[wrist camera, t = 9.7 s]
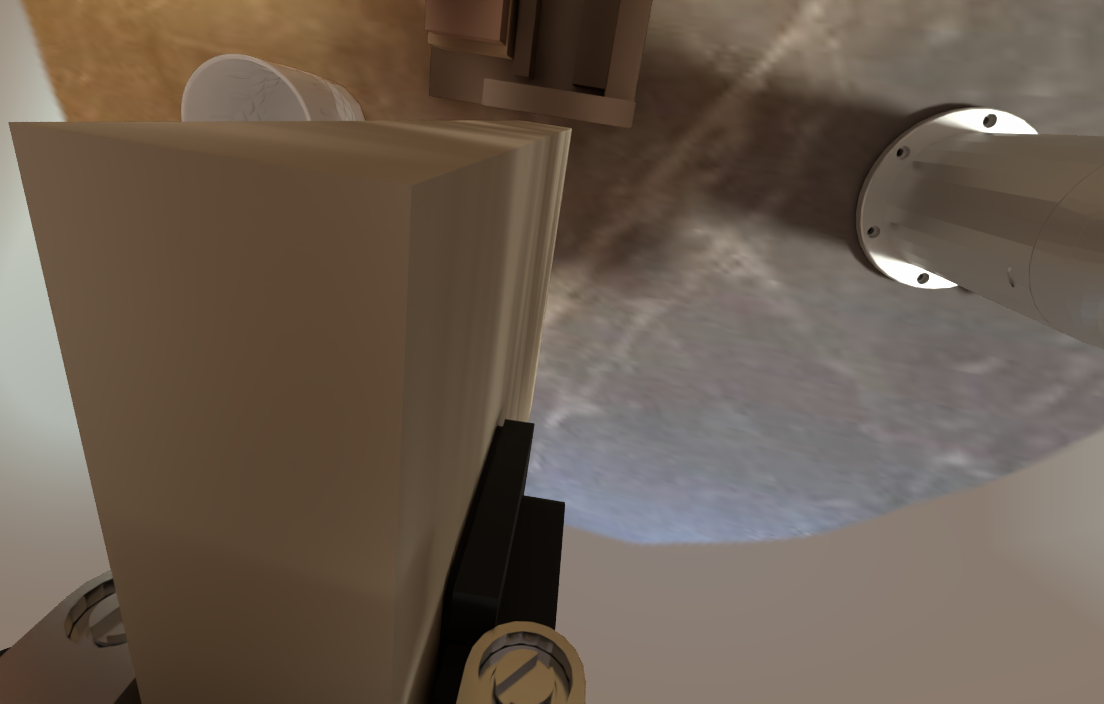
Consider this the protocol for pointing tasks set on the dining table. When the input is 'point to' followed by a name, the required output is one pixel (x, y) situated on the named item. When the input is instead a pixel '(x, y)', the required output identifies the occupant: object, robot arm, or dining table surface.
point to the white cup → (263, 93)
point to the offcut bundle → (473, 26)
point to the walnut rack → (556, 62)
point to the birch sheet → (291, 378)
